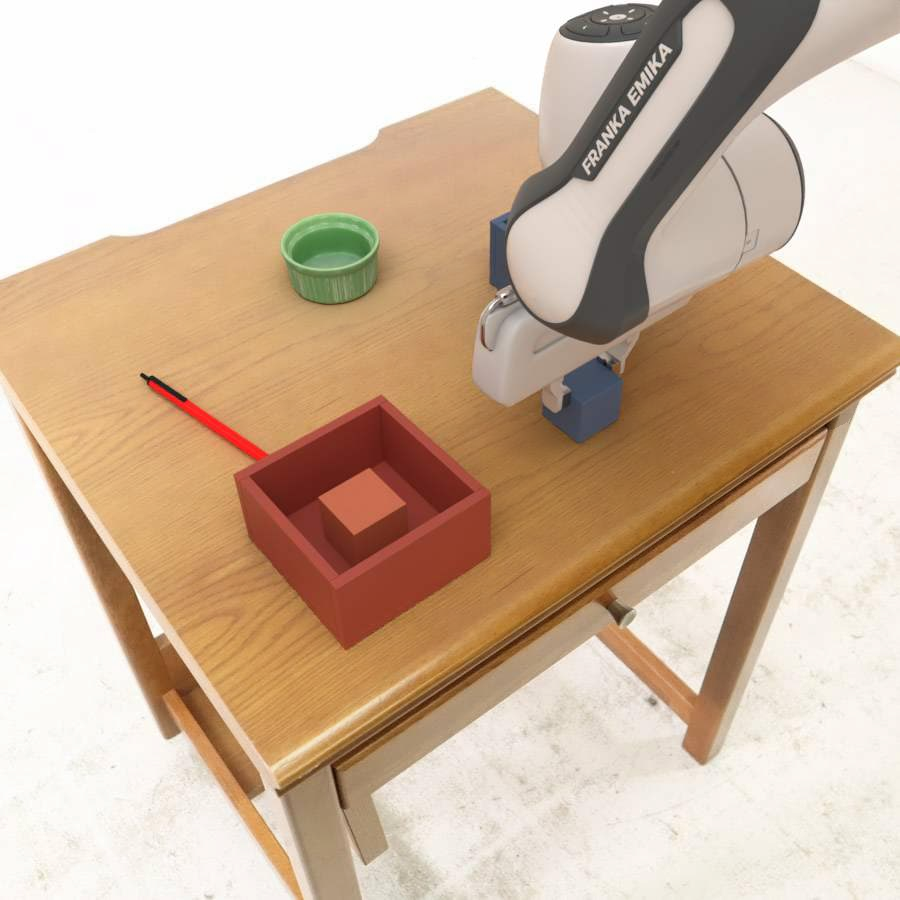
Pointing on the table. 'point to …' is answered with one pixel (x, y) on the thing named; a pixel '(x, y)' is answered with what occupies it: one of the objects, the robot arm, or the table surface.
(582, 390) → the blue block
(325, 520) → the terracotta block
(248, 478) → the red bin
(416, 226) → the table surface
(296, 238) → the ramekin
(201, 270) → the table surface
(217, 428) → the pen
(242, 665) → the table surface
